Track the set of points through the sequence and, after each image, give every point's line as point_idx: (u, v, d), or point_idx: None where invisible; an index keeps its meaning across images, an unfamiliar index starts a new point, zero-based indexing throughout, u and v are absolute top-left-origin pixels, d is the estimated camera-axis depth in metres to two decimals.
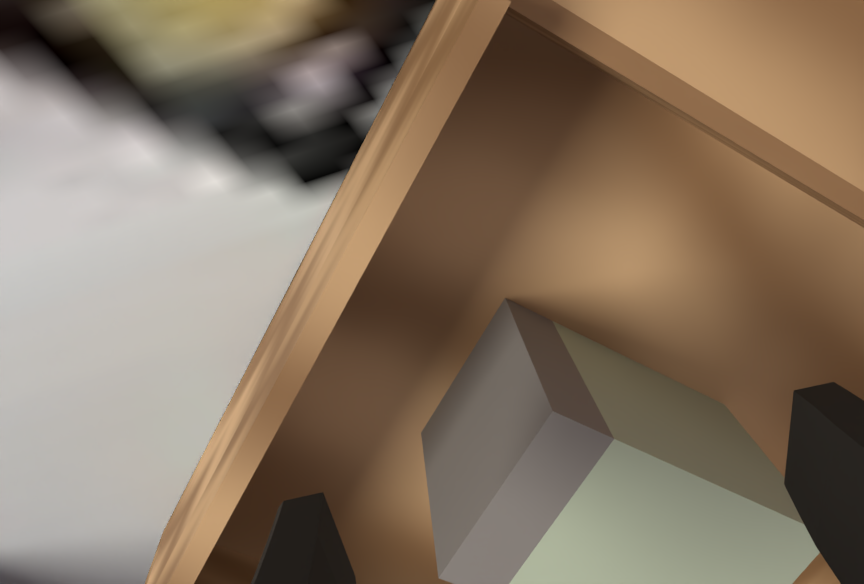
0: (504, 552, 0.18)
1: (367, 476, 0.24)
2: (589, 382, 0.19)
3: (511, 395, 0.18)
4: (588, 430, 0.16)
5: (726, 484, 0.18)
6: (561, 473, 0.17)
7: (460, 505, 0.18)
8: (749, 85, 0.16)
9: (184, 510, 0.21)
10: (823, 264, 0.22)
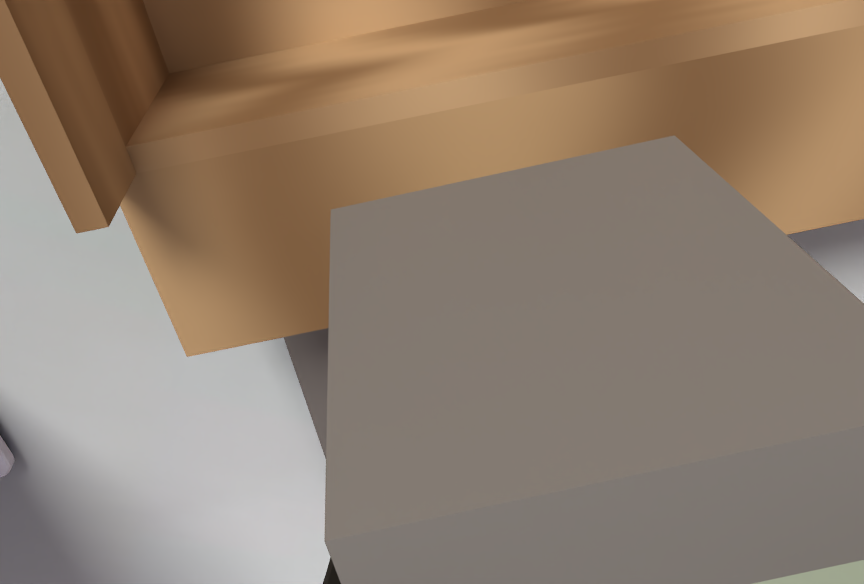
0: None
1: None
2: None
3: (726, 287, 0.08)
4: None
5: None
6: (799, 530, 0.06)
7: (470, 410, 0.07)
8: None
9: None
10: None
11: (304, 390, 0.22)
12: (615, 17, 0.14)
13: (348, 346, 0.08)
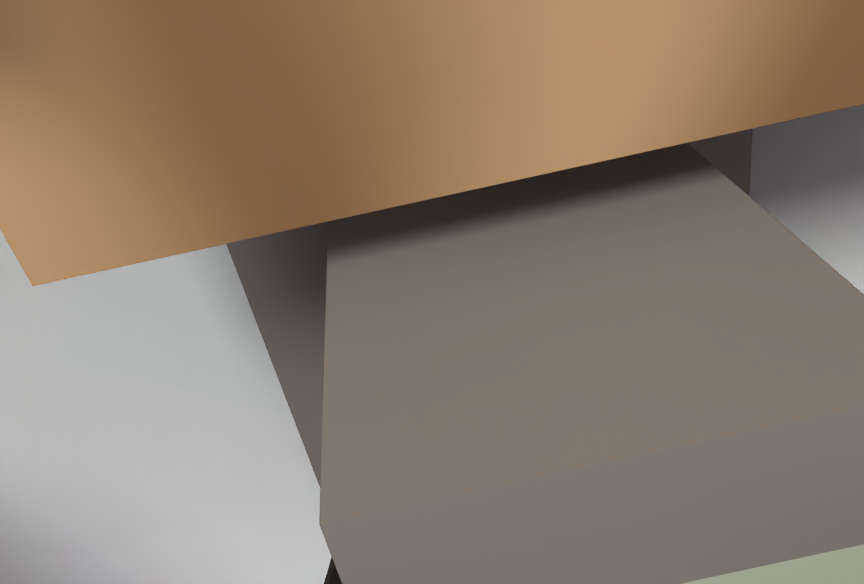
0: (505, 575, 0.06)
1: None
2: None
3: (721, 276, 0.08)
4: None
5: None
6: (795, 514, 0.06)
7: (466, 395, 0.07)
8: None
9: None
10: None
11: (276, 365, 0.14)
12: None
13: (345, 335, 0.08)
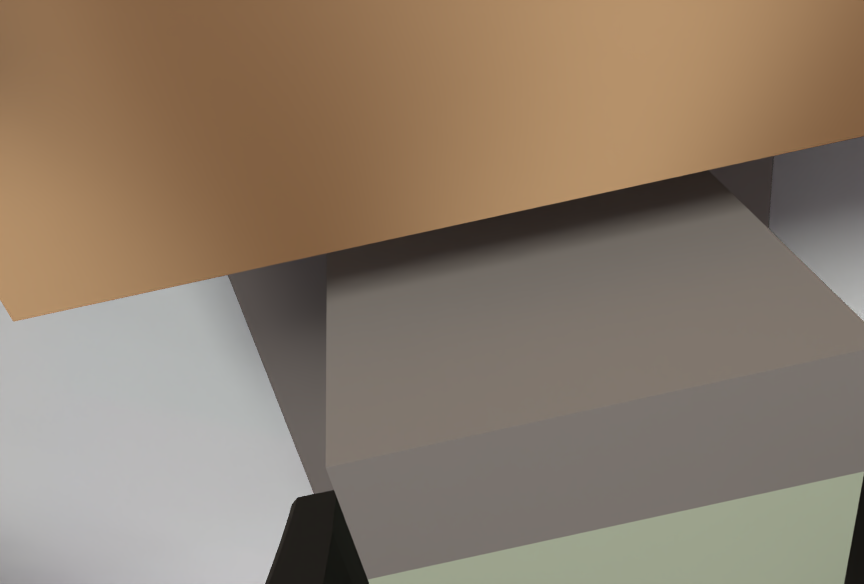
0: (487, 512, 0.07)
1: None
2: None
3: (684, 250, 0.08)
4: None
5: None
6: (739, 459, 0.07)
7: (453, 357, 0.08)
8: None
9: None
10: None
11: (276, 388, 0.14)
12: None
13: (345, 304, 0.09)
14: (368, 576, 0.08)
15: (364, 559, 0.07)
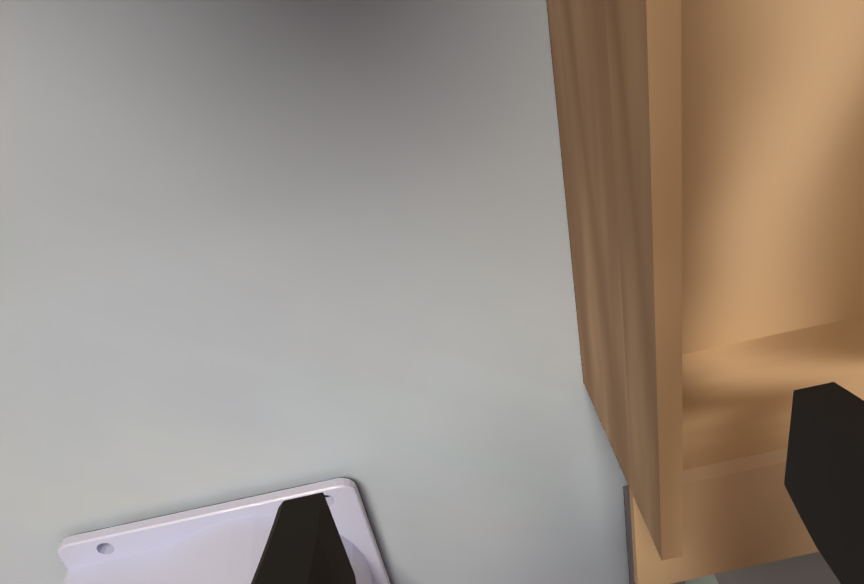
0: None
1: None
2: None
3: None
4: None
5: None
6: None
7: None
8: None
9: None
10: None
11: (633, 565, 0.28)
12: None
13: (738, 571, 0.23)
14: None
15: None
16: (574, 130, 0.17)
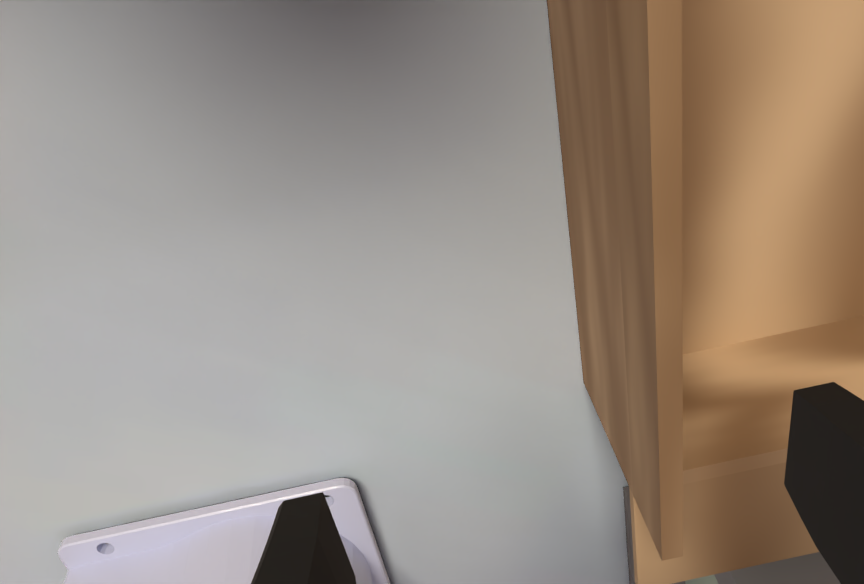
0: None
1: None
2: None
3: None
4: None
5: None
6: None
7: None
8: None
9: None
10: None
11: (633, 565, 0.28)
12: None
13: (738, 571, 0.23)
14: None
15: None
16: (574, 130, 0.17)
